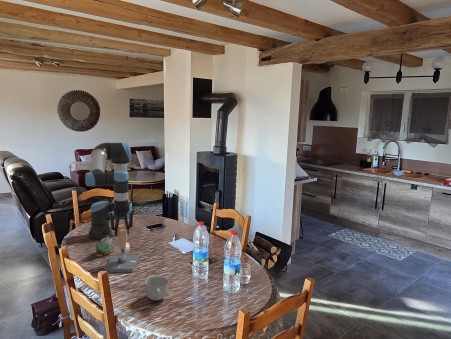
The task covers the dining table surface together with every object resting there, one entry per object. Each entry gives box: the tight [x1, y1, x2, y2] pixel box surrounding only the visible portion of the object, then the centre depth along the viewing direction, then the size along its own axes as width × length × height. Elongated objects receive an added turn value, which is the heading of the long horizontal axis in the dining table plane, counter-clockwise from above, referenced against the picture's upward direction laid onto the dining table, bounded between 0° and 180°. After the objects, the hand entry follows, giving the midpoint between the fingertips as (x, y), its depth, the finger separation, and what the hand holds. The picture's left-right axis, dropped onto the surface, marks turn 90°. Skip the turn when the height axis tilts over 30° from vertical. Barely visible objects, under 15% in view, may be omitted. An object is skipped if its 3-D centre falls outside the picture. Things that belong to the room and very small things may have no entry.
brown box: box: [113, 223, 131, 254], centre depth 175 cm, size 11×8×13 cm
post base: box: [103, 252, 140, 273], centre depth 176 cm, size 17×15×8 cm
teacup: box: [144, 275, 170, 301], centre depth 145 cm, size 14×11×8 cm
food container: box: [94, 235, 113, 258], centre depth 189 cm, size 12×6×10 cm, turn 168°
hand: (121, 240), depth 175 cm, fingers closed on brown box, 4 cm apart
